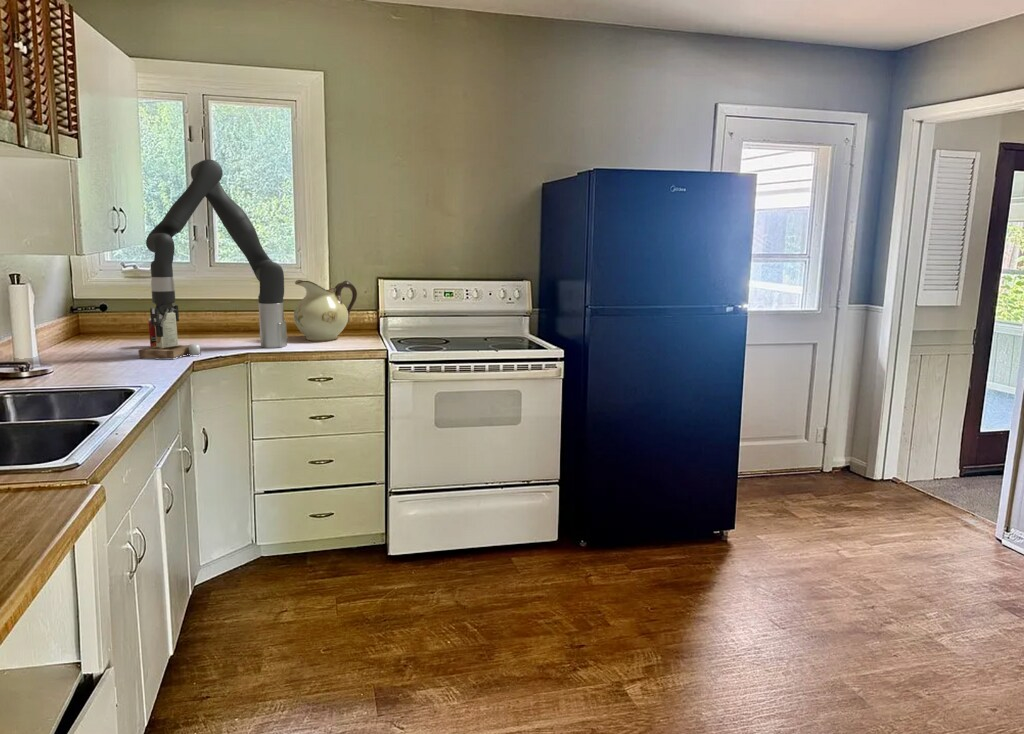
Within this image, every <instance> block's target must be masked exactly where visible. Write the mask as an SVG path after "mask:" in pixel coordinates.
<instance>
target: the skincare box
mask: <svg viewBox="0 0 1024 734" xmlns="http://www.w3.org/2000/svg"><path fill="white" fill-rule="evenodd" d="M162 317H163V315H161V314H159V318H162ZM160 321H161V320H159V323H160ZM154 322H155V318H154ZM162 327H163V337H157V336H156V346H157V347H160V348H165V347H173V346H178V345H179V340H178V339H179V338H178V337H179V336H178V327H177V322H176V315H175V313H173V312H172V313H168V314H167V316H166V320H165V321H164V322H163V325H162ZM155 335H156V327H155Z"/></svg>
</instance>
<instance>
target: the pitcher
mask: <svg viewBox="0 0 1024 734" xmlns="http://www.w3.org/2000/svg"><path fill="white" fill-rule="evenodd" d="M294 283H295V285H297V286H301V287H303V288H304V289H305V291H306V293H305V296H304V297H303V298H302V299H301V300H300V302H299V303H298V304H297V305H296V307H295V308H294V311H293V321H294V324H295V326H296V328H297V329H298V330H299V332H300V333H302V334H303V335H304V336H305V338H306V340H307V341H314V342H325V341H328V342H329V341H334V340H337V338H338V335H339V334H340V333H342V331H343V330H345V328H346V326H347V323H350V322H351V321H350V315H351V314H350V313H351V311H352V310H353V309H352V308H353V307H354V305H355V303H356V302H357V297H358V292H357V288H356V287H355V285H354V284H353V283H352V282H350V281H349V280H344V281H342V282H339V283H337V284H336V285H335V286H334V287H332V288H329V289H325V288H324V287H322V286H321V285H318V284H317V283H315V282H312V281H310V280H303V279H298V280H295V281H294ZM344 288H345V289H349V290H350V291H351V296H352V297H351V300H350V301H349V304H348V307H347V306H346V305H345V304H344V303H343V300H342V296H341V295H342V291H343V289H344Z"/></svg>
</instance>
